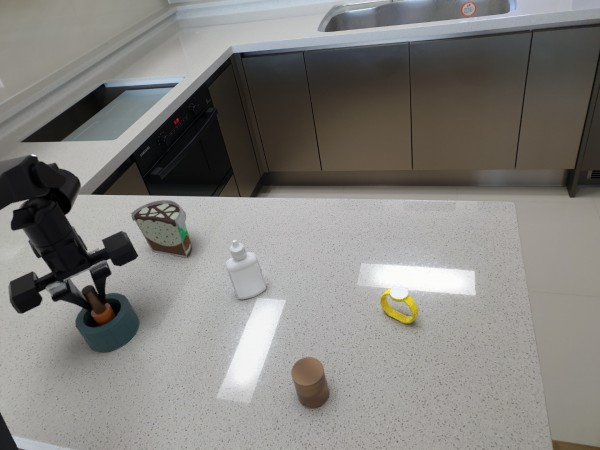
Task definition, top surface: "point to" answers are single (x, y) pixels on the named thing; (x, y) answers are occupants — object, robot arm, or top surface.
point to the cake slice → (164, 227)
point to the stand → (310, 382)
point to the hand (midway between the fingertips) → (98, 306)
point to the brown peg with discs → (98, 306)
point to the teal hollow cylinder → (109, 325)
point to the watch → (399, 296)
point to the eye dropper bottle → (245, 272)
